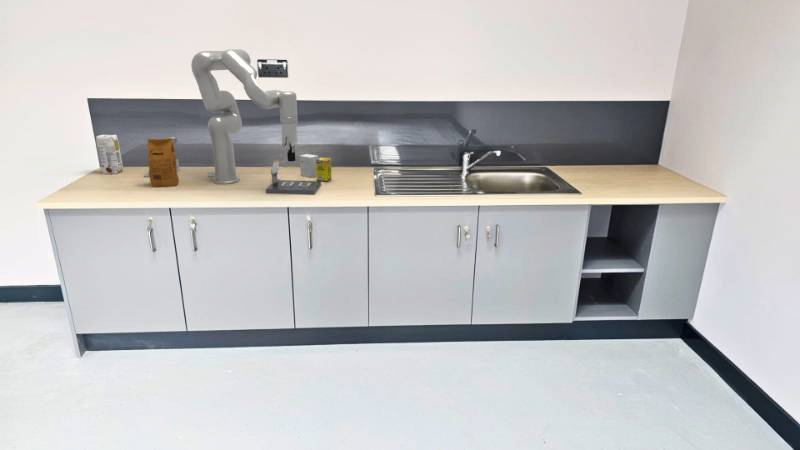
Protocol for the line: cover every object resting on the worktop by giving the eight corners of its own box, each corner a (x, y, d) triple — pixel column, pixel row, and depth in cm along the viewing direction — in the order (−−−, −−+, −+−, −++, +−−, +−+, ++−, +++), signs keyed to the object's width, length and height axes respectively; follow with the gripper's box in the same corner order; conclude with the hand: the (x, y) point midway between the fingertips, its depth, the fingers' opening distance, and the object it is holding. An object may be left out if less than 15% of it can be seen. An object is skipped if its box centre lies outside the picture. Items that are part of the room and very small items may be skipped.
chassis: (266, 193, 225) (265, 179, 223) (275, 184, 241) (274, 170, 238) (314, 194, 225) (314, 180, 223) (321, 185, 240) (320, 172, 238)
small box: (319, 175, 257) (318, 155, 254) (312, 177, 253) (311, 157, 249) (307, 173, 261) (306, 153, 258) (300, 175, 257) (299, 155, 253)
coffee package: (154, 181, 240) (147, 136, 232) (181, 181, 242) (175, 136, 234) (147, 187, 231) (140, 140, 223) (176, 187, 232) (169, 139, 225)
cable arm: (277, 175, 229) (277, 170, 229) (270, 175, 229) (270, 170, 228) (280, 165, 248) (279, 160, 248) (273, 165, 248) (273, 160, 247)
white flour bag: (117, 174, 251) (110, 136, 245) (100, 174, 251) (93, 136, 245) (125, 171, 258) (119, 134, 252) (108, 170, 258) (102, 133, 252)
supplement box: (328, 182, 245) (327, 160, 242) (316, 181, 246) (315, 159, 243) (331, 179, 251) (331, 158, 247) (320, 178, 252) (319, 157, 248)
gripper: (285, 117, 229) (287, 157, 235) (276, 122, 215) (279, 164, 221) (301, 118, 229) (303, 157, 235) (293, 122, 215) (296, 164, 221)
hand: (291, 160), depth 228 cm, fingers closed
